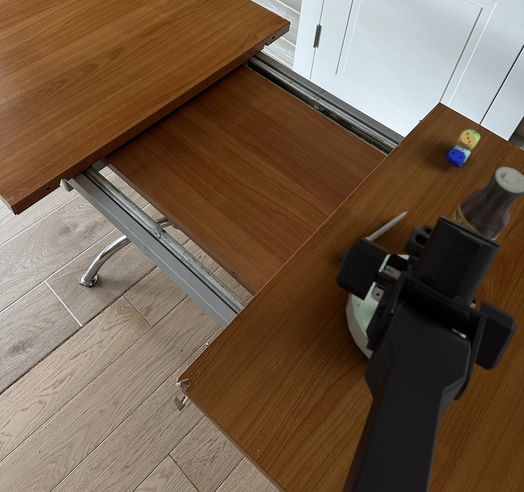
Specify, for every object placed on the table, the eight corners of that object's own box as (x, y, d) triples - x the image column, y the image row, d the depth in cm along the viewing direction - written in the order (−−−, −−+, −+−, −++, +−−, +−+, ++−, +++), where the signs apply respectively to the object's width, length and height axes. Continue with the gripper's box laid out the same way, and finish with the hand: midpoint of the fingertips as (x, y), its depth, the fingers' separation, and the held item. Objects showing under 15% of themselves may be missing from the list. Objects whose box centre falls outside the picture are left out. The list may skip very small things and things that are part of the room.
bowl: (478, 332, 71) (491, 318, 67) (405, 404, 64) (416, 392, 60) (396, 251, 78) (404, 236, 75) (322, 308, 71) (328, 293, 68)
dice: (454, 175, 89) (468, 151, 84) (440, 167, 90) (453, 142, 85) (473, 150, 94) (487, 125, 89) (460, 142, 95) (473, 118, 90)
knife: (403, 215, 83) (407, 208, 81) (406, 218, 82) (410, 211, 81) (337, 262, 76) (339, 256, 75) (340, 266, 76) (342, 259, 74)
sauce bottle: (422, 246, 79) (471, 164, 64) (454, 232, 81) (508, 150, 66) (449, 282, 75) (507, 204, 60) (482, 267, 77) (545, 188, 63)
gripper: (556, 295, 47) (526, 263, 62) (369, 201, 52) (382, 193, 67) (500, 400, 48) (483, 344, 63) (322, 297, 54) (345, 268, 68)
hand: (422, 283), depth 65 cm, fingers open, 3 cm apart
